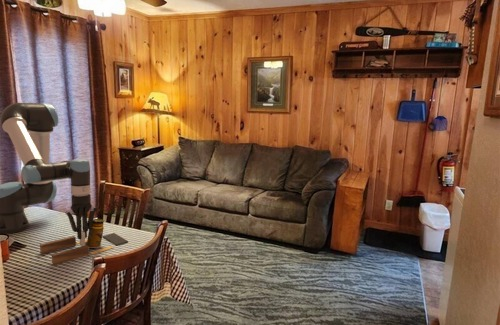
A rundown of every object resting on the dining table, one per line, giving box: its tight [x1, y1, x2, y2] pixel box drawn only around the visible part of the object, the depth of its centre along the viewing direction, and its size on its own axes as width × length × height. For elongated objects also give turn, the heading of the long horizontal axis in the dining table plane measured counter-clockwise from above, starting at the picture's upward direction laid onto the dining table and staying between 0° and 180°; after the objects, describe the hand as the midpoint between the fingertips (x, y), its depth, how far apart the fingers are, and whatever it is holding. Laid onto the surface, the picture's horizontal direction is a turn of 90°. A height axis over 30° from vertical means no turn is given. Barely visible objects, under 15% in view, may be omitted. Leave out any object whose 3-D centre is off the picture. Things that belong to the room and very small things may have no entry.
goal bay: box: [76, 239, 114, 255], centre depth 155 cm, size 17×10×1 cm, turn 49°
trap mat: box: [102, 232, 129, 246], centre depth 162 cm, size 14×6×1 cm, turn 49°
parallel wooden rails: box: [39, 235, 90, 266], centre depth 145 cm, size 16×14×4 cm
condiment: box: [85, 218, 105, 249], centre depth 153 cm, size 7×8×12 cm
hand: (82, 245), depth 149 cm, fingers closed
